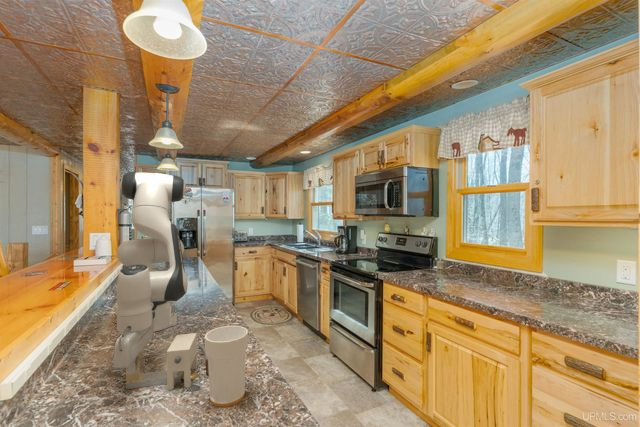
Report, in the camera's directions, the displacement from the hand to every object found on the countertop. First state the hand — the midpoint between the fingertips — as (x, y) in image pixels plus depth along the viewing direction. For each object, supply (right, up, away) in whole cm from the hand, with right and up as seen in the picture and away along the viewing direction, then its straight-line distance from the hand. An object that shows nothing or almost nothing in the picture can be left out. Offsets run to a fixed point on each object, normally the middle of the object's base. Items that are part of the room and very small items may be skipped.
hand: (135, 367), depth 90 cm
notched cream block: (+13, -5, +3) cm, 14 cm away
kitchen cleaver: (+18, -5, +16) cm, 24 cm away
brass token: (+15, -5, +3) cm, 16 cm away
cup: (+29, -5, -7) cm, 30 cm away
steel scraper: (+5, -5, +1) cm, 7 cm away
